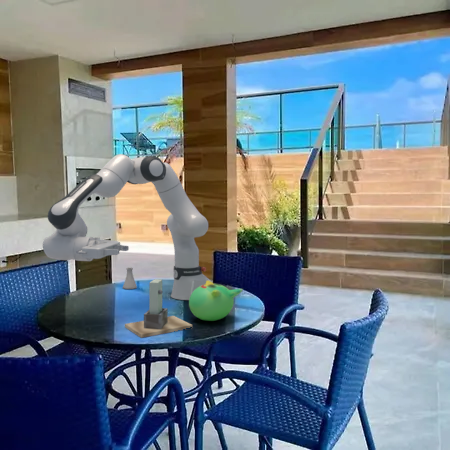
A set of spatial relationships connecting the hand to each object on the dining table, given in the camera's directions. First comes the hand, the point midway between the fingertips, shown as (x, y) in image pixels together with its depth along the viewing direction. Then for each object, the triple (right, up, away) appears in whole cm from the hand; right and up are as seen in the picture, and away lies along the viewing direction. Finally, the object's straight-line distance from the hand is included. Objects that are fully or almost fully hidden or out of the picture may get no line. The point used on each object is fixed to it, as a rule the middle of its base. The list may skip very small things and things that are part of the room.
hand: (123, 250), depth 169 cm
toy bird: (+32, -28, +12) cm, 44 cm away
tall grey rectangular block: (+12, -27, +1) cm, 29 cm away
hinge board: (+12, -28, +1) cm, 31 cm away
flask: (-11, -22, +64) cm, 69 cm away
